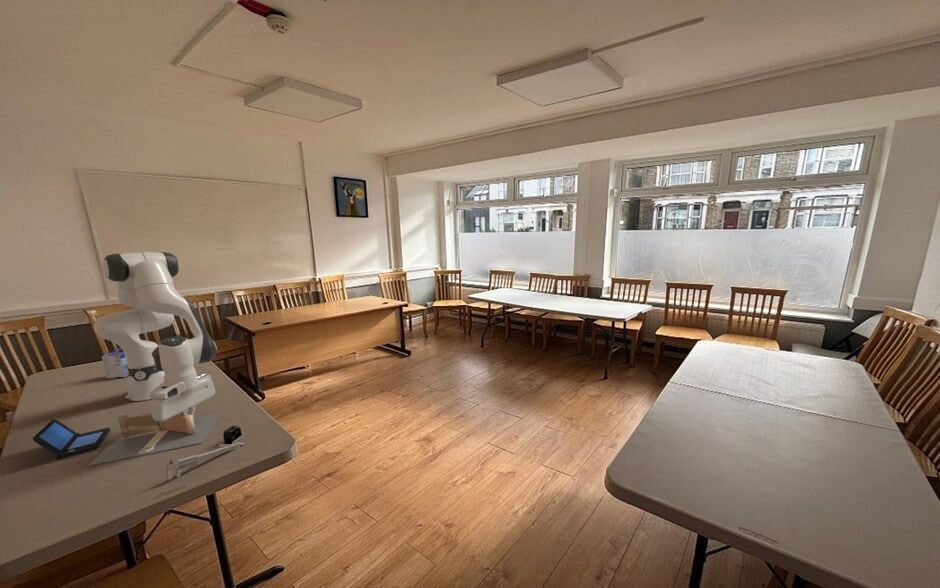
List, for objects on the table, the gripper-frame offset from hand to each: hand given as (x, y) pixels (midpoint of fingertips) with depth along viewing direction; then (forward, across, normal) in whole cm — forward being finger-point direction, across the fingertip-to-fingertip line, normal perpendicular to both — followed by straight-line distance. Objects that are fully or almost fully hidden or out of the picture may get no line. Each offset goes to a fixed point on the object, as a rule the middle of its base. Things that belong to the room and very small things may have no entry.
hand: (189, 419), depth 128 cm
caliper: (+4, +14, +24) cm, 28 cm away
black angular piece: (+5, +3, +21) cm, 22 cm away
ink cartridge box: (+5, -37, -90) cm, 98 cm away
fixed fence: (+4, +5, -14) cm, 16 cm away
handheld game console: (+5, +14, -31) cm, 34 cm away
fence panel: (+3, +2, -2) cm, 5 cm away
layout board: (+4, +6, -6) cm, 9 cm away
